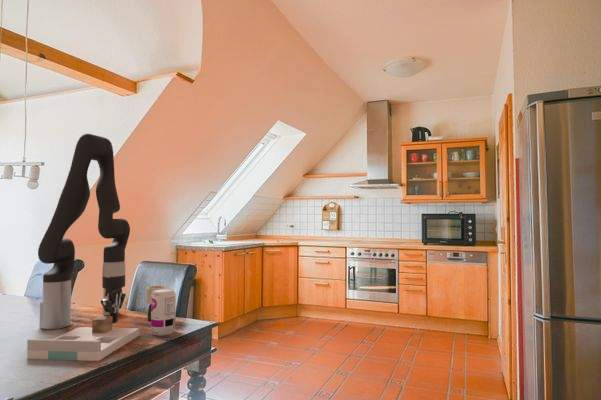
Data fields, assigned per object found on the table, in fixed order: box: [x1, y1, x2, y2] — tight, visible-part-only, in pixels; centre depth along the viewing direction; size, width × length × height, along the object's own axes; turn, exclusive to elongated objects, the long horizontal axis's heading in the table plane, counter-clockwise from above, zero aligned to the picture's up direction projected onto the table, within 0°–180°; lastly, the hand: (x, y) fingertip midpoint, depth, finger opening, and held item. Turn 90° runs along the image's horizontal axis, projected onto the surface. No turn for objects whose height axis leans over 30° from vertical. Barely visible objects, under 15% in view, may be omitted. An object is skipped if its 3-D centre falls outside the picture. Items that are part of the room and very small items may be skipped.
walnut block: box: [91, 315, 113, 333], centre depth 136 cm, size 4×4×4 cm
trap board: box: [26, 326, 140, 362], centre depth 128 cm, size 22×24×6 cm
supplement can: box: [150, 288, 177, 337], centre depth 143 cm, size 8×8×15 cm
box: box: [102, 288, 120, 316], centre depth 171 cm, size 5×4×11 cm
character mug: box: [145, 285, 166, 320], centre depth 161 cm, size 11×7×13 cm, turn 43°
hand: (113, 322), depth 143 cm, fingers closed
